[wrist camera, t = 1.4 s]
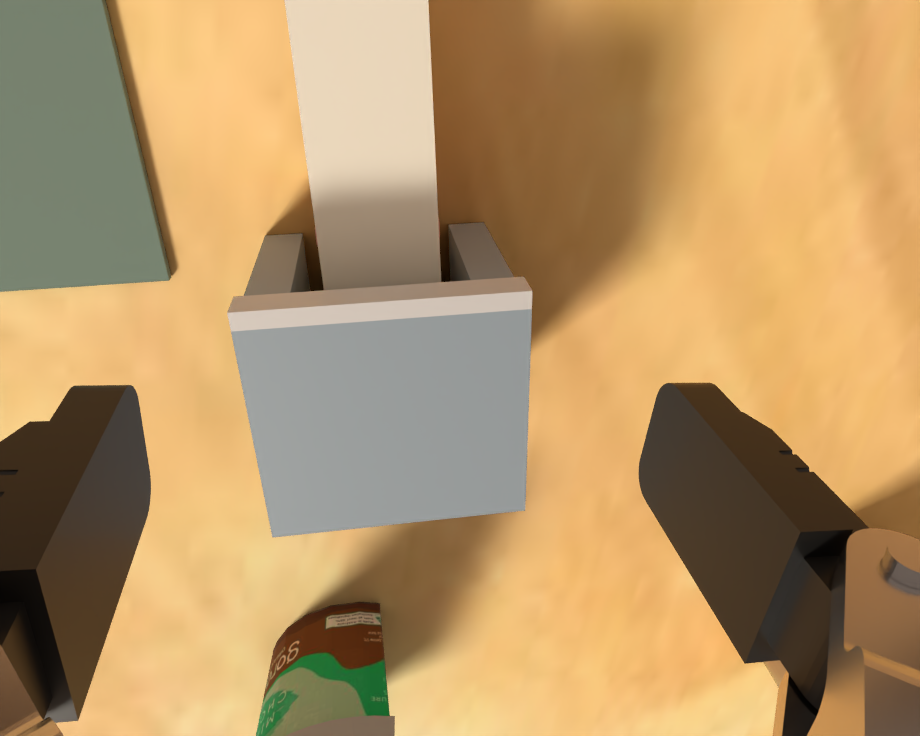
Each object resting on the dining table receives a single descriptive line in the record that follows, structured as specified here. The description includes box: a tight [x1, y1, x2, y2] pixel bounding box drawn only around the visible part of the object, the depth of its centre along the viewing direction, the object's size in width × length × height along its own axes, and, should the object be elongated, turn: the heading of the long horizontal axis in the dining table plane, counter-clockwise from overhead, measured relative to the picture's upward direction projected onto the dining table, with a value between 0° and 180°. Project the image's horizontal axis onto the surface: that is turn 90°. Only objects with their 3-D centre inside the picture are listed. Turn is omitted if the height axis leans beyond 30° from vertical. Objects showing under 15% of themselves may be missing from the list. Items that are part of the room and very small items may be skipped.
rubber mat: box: [0, 0, 171, 292], centre depth 24 cm, size 7×15×1 cm, turn 1°
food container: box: [256, 602, 395, 736], centre depth 36 cm, size 12×6×10 cm, turn 161°
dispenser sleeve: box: [227, 222, 533, 537], centre depth 26 cm, size 9×9×9 cm
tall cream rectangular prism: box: [285, 0, 441, 290], centre depth 24 cm, size 4×12×6 cm, turn 2°
